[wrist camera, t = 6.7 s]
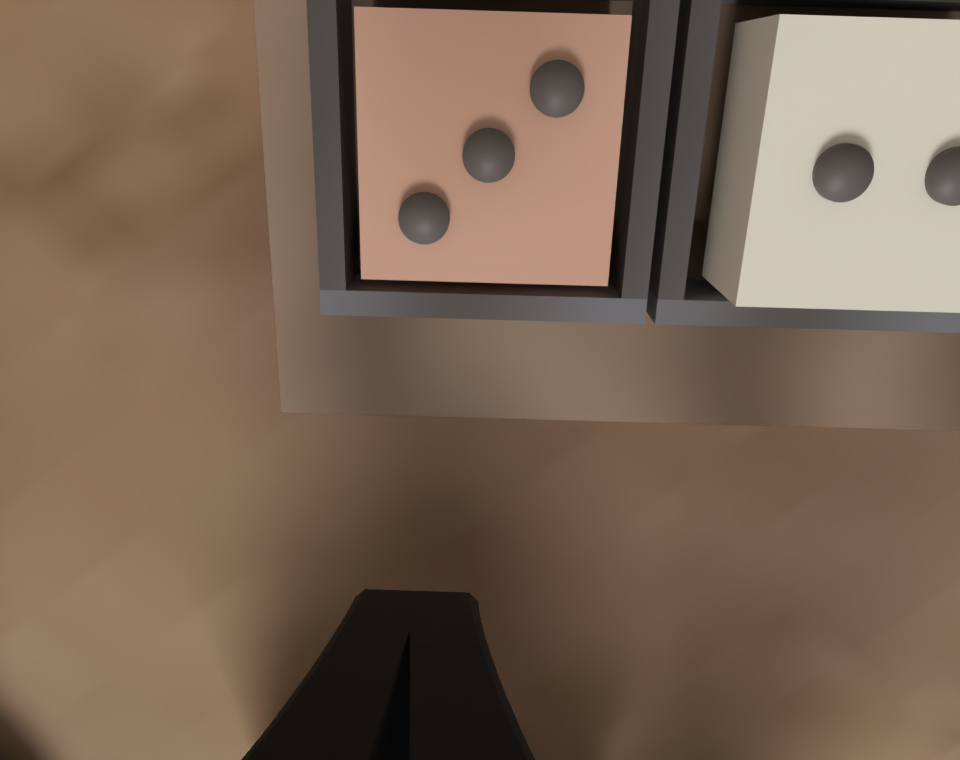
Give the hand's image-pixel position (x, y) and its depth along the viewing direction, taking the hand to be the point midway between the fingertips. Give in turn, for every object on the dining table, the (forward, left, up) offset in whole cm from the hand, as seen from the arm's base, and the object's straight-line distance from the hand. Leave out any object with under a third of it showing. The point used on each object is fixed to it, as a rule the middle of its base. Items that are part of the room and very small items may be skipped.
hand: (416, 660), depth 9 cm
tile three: (-1, -5, -9) cm, 10 cm away
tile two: (-7, -5, -8) cm, 12 cm away
